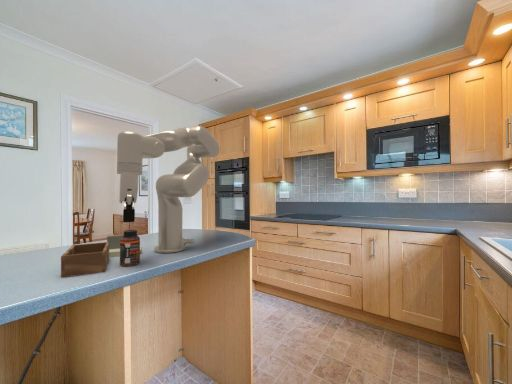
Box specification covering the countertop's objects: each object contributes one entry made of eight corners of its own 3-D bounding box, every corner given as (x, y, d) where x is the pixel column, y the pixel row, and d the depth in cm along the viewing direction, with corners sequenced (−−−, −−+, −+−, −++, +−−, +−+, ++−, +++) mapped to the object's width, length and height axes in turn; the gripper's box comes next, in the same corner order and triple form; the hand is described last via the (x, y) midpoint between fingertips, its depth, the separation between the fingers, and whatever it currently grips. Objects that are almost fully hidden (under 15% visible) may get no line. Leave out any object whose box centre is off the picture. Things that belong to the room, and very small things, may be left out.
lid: (86, 259, 83) (86, 240, 83) (91, 251, 94) (91, 234, 94) (141, 253, 92) (141, 236, 92) (140, 246, 103) (140, 231, 103)
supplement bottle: (131, 267, 75) (131, 232, 75) (115, 266, 76) (115, 231, 76) (143, 261, 81) (143, 229, 81) (128, 260, 82) (128, 228, 82)
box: (72, 262, 80) (72, 245, 80) (109, 258, 85) (109, 242, 85) (60, 277, 66) (60, 256, 66) (105, 271, 71) (105, 251, 71)
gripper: (118, 171, 84) (117, 218, 84) (115, 166, 69) (114, 224, 69) (141, 172, 88) (140, 217, 88) (143, 167, 73) (142, 222, 72)
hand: (128, 220), depth 78 cm, fingers open, 9 cm apart
